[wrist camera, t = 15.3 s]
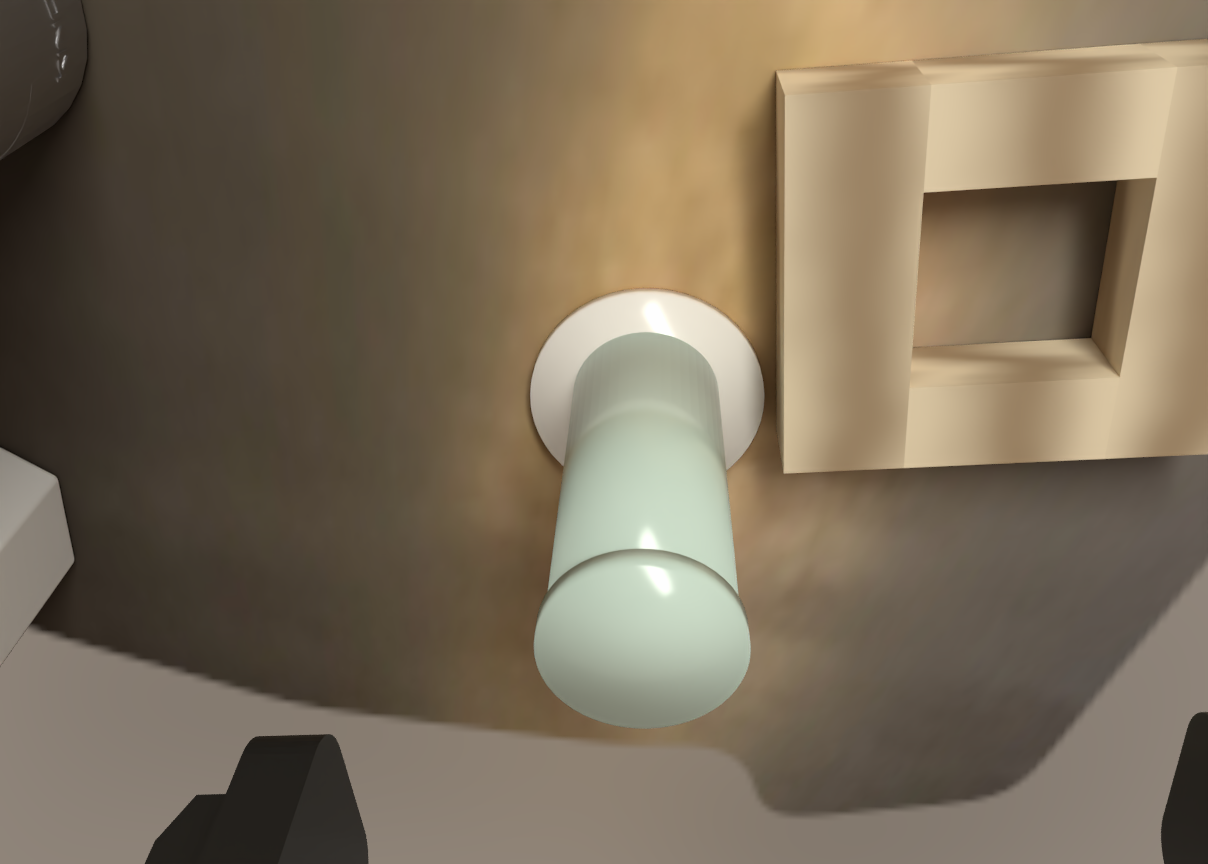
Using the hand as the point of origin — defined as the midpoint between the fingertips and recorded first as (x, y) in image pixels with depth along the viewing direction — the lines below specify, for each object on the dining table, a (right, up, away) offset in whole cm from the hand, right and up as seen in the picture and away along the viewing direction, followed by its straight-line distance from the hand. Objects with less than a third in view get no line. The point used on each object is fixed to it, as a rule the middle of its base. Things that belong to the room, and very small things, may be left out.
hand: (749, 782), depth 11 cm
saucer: (0, +5, +32) cm, 33 cm away
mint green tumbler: (0, +5, +32) cm, 32 cm away
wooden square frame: (+13, +10, +29) cm, 33 cm away
